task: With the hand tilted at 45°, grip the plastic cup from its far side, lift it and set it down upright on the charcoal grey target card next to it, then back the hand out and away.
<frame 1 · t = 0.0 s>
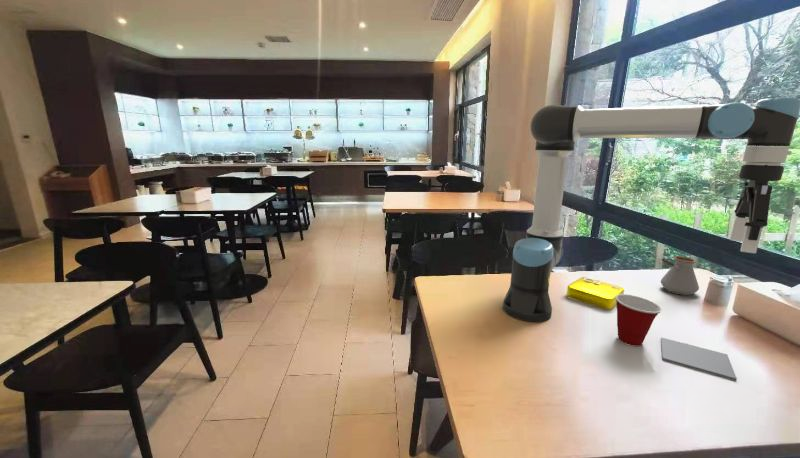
hand: (741, 246, 92), 28 cm above the table, tool pointing down, fingers open, 13 cm apart
plastic cup: (630, 341, 98), on the table
target card: (694, 358, 90), on the table
coffee pot: (670, 294, 131), on the table
element tile: (594, 298, 126), on the table
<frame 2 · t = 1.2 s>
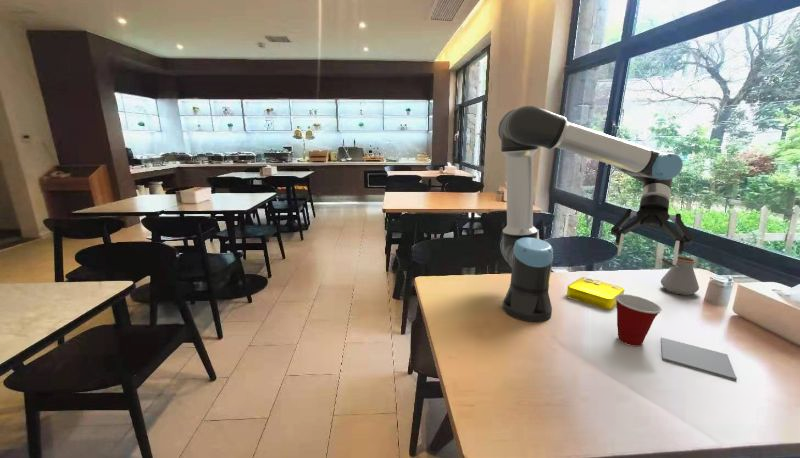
hand: (645, 257, 103), 21 cm above the table, tool tilted 45°, fingers open, 13 cm apart
nothing on the table moved.
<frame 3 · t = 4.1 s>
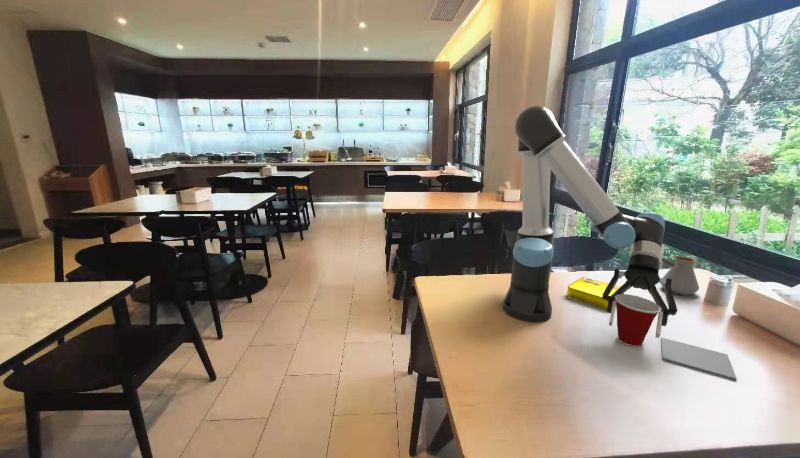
hand: (633, 329, 94), 5 cm above the table, tool tilted 45°, fingers closed on plastic cup, 10 cm apart
plastic cup: (630, 341, 98), on the table, touching gripper
everything else where it was.
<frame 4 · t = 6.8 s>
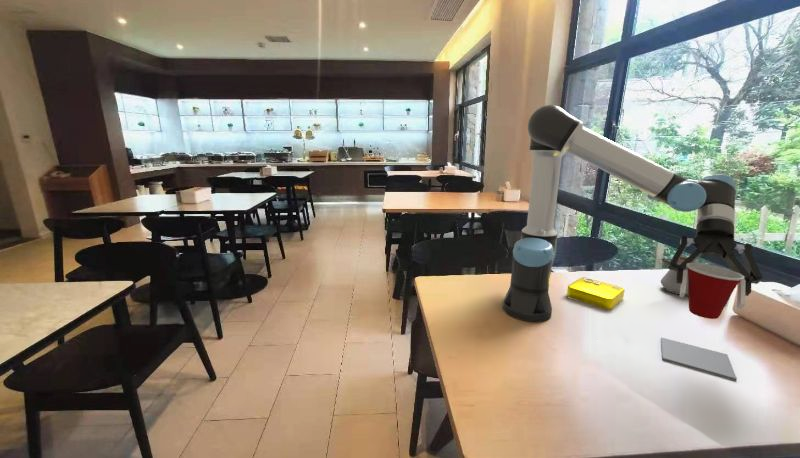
hand: (710, 300, 84), 17 cm above the table, tool tilted 45°, fingers closed on plastic cup, 10 cm apart
plastic cup: (704, 314, 88), point 12 cm above the table, touching gripper
everything else where it was.
when the fingers open (7 cm above the table, at t = 9.6 s): plastic cup moves 3 cm, resting on target card.
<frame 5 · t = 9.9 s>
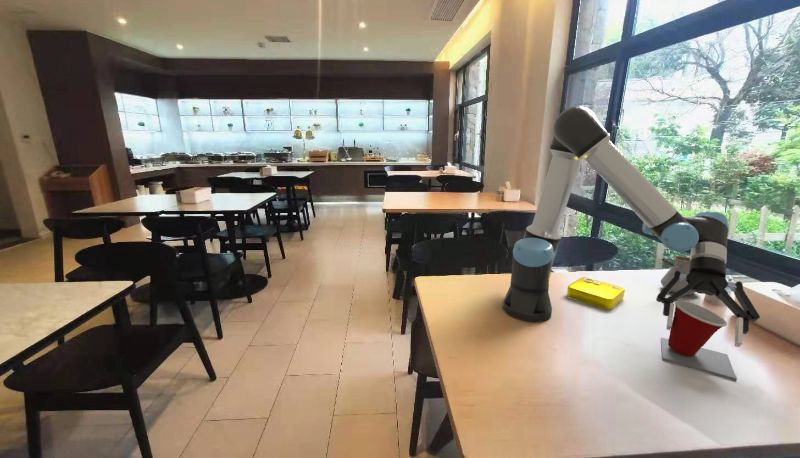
hand: (702, 336, 87), 7 cm above the table, tool tilted 45°, fingers open, 13 cm apart
plastic cup: (681, 350, 92), point 1 cm above the table, touching target card
everything else where it was.
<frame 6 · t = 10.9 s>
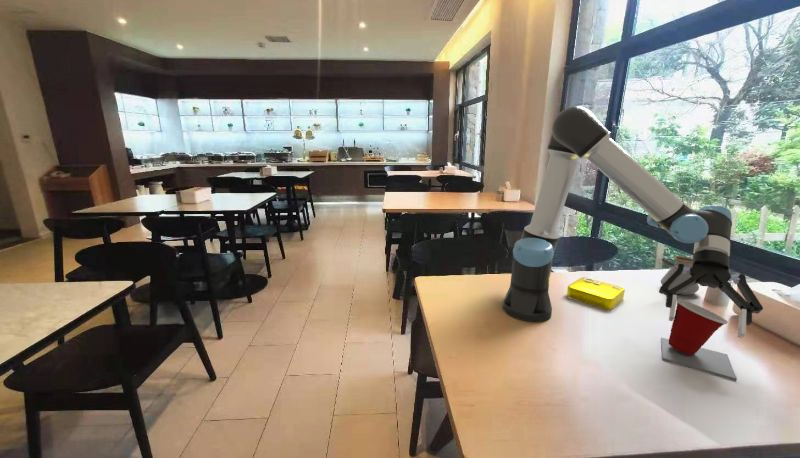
hand: (705, 327, 88), 9 cm above the table, tool tilted 45°, fingers open, 13 cm apart
plastic cup: (681, 349, 92), point 1 cm above the table, touching gripper, target card
everything else where it was.
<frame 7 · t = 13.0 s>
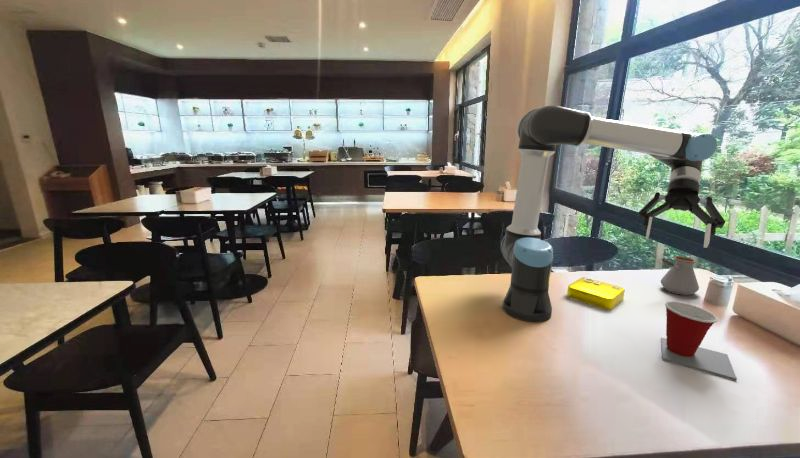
hand: (675, 241, 101), 27 cm above the table, tool tilted 45°, fingers open, 13 cm apart
plastic cup: (680, 351, 92), resting on target card
everything else where it was.
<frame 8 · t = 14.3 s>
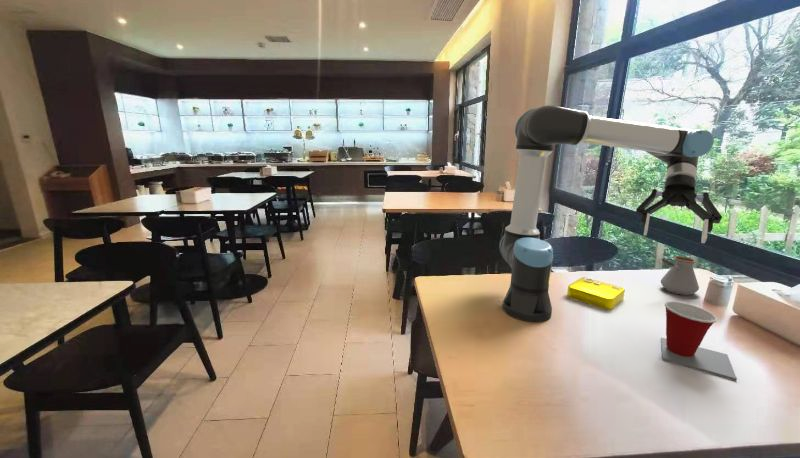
hand: (673, 236, 102), 28 cm above the table, tool tilted 45°, fingers open, 13 cm apart
nothing on the table moved.
at the end: plastic cup inside the target area on the target card (3.0 cm from its centre), point 0.4 cm above the target card's base; plastic cup tilted 0°; the gripper is holding nothing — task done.
